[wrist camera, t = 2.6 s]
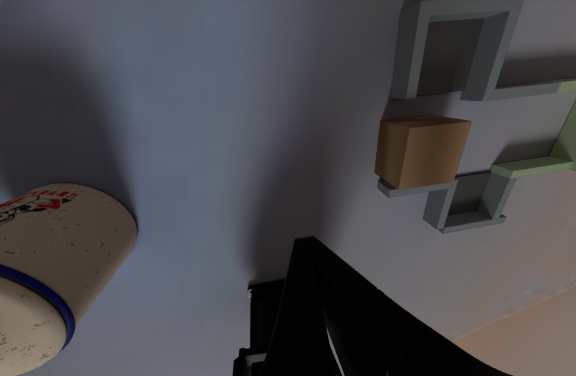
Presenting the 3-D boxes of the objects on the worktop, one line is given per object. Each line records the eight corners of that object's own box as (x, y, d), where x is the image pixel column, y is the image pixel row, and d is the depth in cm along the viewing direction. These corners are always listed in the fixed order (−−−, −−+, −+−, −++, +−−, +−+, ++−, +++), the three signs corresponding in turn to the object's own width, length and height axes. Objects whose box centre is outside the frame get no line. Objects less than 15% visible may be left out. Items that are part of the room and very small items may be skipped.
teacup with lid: (84, 159, 16) (-222, 289, 6) (163, 239, 20) (70, 398, 10) (-41, 224, 17) (-516, 446, 6) (60, 288, 21) (-129, 486, 11)
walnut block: (373, 172, 21) (398, 189, 17) (379, 120, 18) (409, 128, 15) (419, 166, 21) (453, 182, 18) (430, 114, 19) (472, 121, 15)
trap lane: (372, 233, 24) (387, 251, 21) (398, 11, 15) (430, -6, 12) (530, 205, 26) (562, 219, 23) (638, -5, 17) (709, -22, 14)
